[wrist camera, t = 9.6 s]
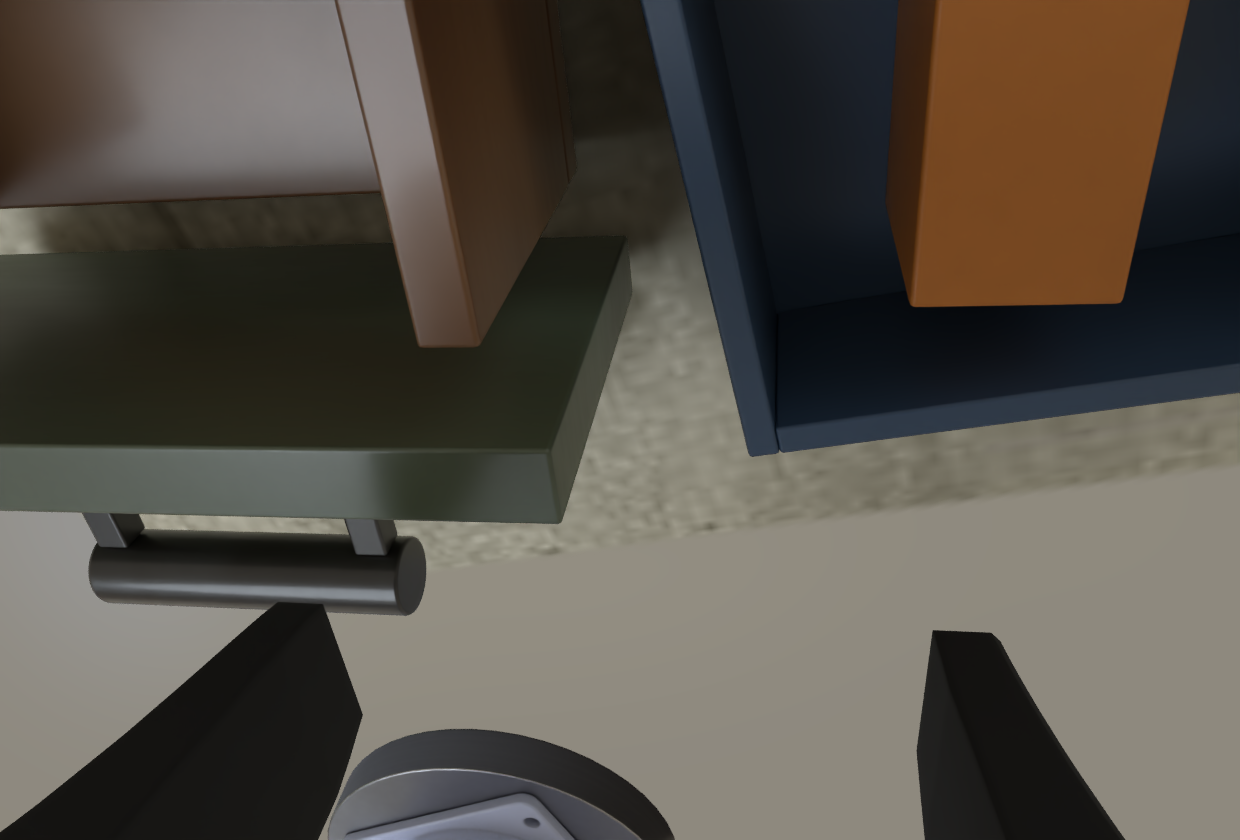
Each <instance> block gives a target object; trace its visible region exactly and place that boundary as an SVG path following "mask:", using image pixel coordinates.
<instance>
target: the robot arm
mask: <svg viewBox="0 0 1240 840" xmlns="http://www.w3.org/2000/svg"><path fill="white" fill-rule="evenodd" d="M362 715H363V714H362V711H361V708H360V706H359V703H358V700H357V697H356V694H355V692H354V689H353V686H352V684H351V681H350V678H349V675H348V672H347V670H346V667H345V664H344V661H343V658H342V656H341V653H340V650H339V647H338V644H337V642H336V639H335V636H334V633H333V631H332V628H331V625H330V622H329V619H328V617H327V614H326V611H325V608H324V605H323V604H314V603H291V602H277V603H276V604H274V605H273V606H272V607H271V608H270V609H268V610H267V611H266V612H265V613H264V614H262V615H261V616H260V617H259V618H258V619H256V621H254V622H253V623H252V624H251V625H250V626H248V627H247V628H246V629H245V630H244V631H243V632H241V633H240V634H239V635H238V636H237V637H236V638H235V639H233V640H232V641H231V642H230V643H229V644H228V645H227V646H225V647H224V648H223V649H222V650H221V651H220V652H219V653H218V654H216V655H215V656H214V657H213V658H212V659H211V660H210V661H208V662H207V663H206V664H205V665H204V666H203V667H202V668H201V669H199V670H198V671H197V672H196V673H195V674H194V675H193V676H192V677H190V678H189V679H188V680H187V681H186V682H185V683H184V684H182V685H181V686H180V687H179V688H178V689H177V690H175V691H174V692H173V693H172V694H171V695H170V696H168V697H167V698H166V699H165V700H164V701H163V702H161V703H160V704H159V705H158V706H157V707H156V708H155V709H153V710H152V711H151V712H150V713H149V714H148V715H146V716H145V717H144V718H143V719H142V720H141V721H139V722H138V723H137V724H136V725H135V726H134V727H132V728H131V729H130V730H129V731H128V732H127V733H125V734H124V735H123V736H122V737H121V738H119V739H118V740H117V741H116V742H114V743H113V744H112V745H111V746H110V747H108V748H107V749H106V750H105V751H103V752H102V753H101V754H100V755H98V756H97V757H96V758H95V759H93V760H92V761H91V762H90V763H88V764H87V765H86V766H85V767H83V768H82V769H81V770H80V771H78V772H77V773H76V774H75V775H74V776H72V777H71V778H70V779H68V780H67V781H66V782H65V783H63V785H61V786H60V787H59V788H57V789H56V790H55V791H54V792H52V793H51V794H50V795H49V796H47V797H46V798H45V799H44V800H42V801H41V802H40V803H39V804H37V805H36V806H35V807H34V808H32V809H31V810H30V811H28V812H27V813H25V814H24V815H23V816H22V817H20V818H19V819H18V820H16V821H15V822H14V823H12V824H11V825H10V826H8V827H7V828H5V829H4V830H3V831H1V832H0V840H318V838H319V836H320V834H321V832H322V829H323V827H324V825H325V823H326V820H327V818H328V816H329V814H330V812H331V809H332V807H333V805H334V802H335V800H336V797H337V795H338V793H339V790H340V787H341V783H342V780H343V777H344V774H345V771H346V768H347V765H348V762H349V759H350V756H351V753H352V749H353V746H354V743H355V739H356V736H357V732H358V729H359V725H360V722H361V719H362ZM917 760H918V771H919V782H920V793H921V803H922V804H921V805H922V815H923V825H924V835H925V840H1125V839H1124V837H1123V836H1122V834H1121V833H1120V832H1119V831H1118V829H1117V827H1116V826H1115V825H1114V823H1113V822H1112V820H1111V819H1110V817H1109V816H1108V814H1107V813H1106V811H1105V810H1104V809H1103V807H1102V806H1101V804H1100V803H1099V801H1098V800H1097V798H1096V797H1095V796H1094V794H1093V792H1092V791H1091V790H1090V788H1089V787H1088V785H1087V784H1086V782H1085V781H1084V779H1083V778H1082V777H1081V775H1080V774H1079V772H1078V771H1077V769H1076V768H1075V766H1074V765H1073V763H1072V762H1071V760H1070V758H1069V757H1068V755H1067V754H1066V752H1065V751H1064V749H1063V748H1062V746H1061V744H1060V743H1059V741H1058V740H1057V738H1056V736H1055V735H1054V733H1053V732H1052V730H1051V728H1050V727H1049V725H1048V724H1047V722H1046V720H1045V719H1044V717H1043V716H1042V714H1041V712H1040V711H1039V709H1038V708H1037V706H1036V704H1035V702H1034V701H1033V699H1032V697H1031V696H1030V694H1029V692H1028V691H1027V689H1026V687H1025V685H1024V684H1023V682H1022V680H1021V678H1020V677H1019V675H1018V673H1017V671H1016V669H1015V668H1014V666H1013V664H1012V662H1011V660H1010V659H1009V657H1008V655H1007V653H1006V651H1005V649H1004V647H1003V645H1002V644H1001V642H1000V641H999V640H998V639H997V638H996V637H995V636H994V635H993V634H992V633H983V632H961V631H960V632H959V631H938V630H937V631H936V630H933V632H932V640H931V647H930V655H929V662H928V669H927V677H926V685H925V692H924V700H923V707H922V714H921V722H920V730H919V737H918V744H917ZM343 840H575V839H574V838H573V837H572V836H571V835H570V834H569V833H568V832H567V830H566V829H565V828H564V827H563V826H562V825H561V824H560V823H559V822H558V821H557V820H556V818H555V817H554V816H553V815H552V814H551V813H550V812H549V811H548V810H547V809H546V808H545V807H544V805H543V804H542V803H541V802H540V801H539V800H538V799H537V798H536V797H534V796H532V795H530V794H526V793H518V794H514V795H510V796H505V797H501V798H497V799H493V800H489V801H484V802H480V803H476V804H472V805H468V806H463V807H459V808H455V809H451V810H446V811H442V812H438V813H434V814H430V815H425V816H421V817H417V818H413V819H409V820H404V821H400V822H396V823H392V824H387V825H383V826H379V827H375V828H371V829H366V830H362V831H358V832H354V833H350V834H348V835H346V836H345V837H344V839H343Z"/></svg>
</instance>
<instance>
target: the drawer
mask: <svg viewBox="0 0 1240 840" xmlns="http://www.w3.org/2000/svg"><path fill="white" fill-rule="evenodd" d="M576 170H577V163H576V154H575V146H574V138H573V130H572V121H571V113H570V105H569V96H568V88H567V80H566V72H565V63H564V55H563V47H562V38H561V30H560V22H559V13H558V5H557V0H0V209H9V208H34V207H58V206H82V205H106V204H131V203H155V202H179V201H204V200H228V199H252V198H276V197H301V196H325V195H349V194H374V193H381V195H382V199H383V204H384V208H385V212H386V216H387V220H388V224H389V228H390V232H391V237H392V241H393V243H367V244H335V245H303V246H271V247H239V248H207V249H175V250H143V251H111V252H79V253H47V254H15V255H0V511H39V512H80V513H82V514H83V516H84V518H85V520H86V522H87V524H88V525H89V527H90V529H91V531H92V533H93V535H94V537H95V539H96V541H97V544H96V545H95V547H94V549H93V551H92V554H91V557H90V561H89V581H90V584H91V587H92V590H93V591H94V593H95V594H96V595H97V597H99V598H100V599H101V600H103V601H105V602H108V603H122V604H123V603H124V604H145V605H169V606H193V607H216V608H239V609H264V610H268V609H270V608H271V607H272V606H273V605H274V604H276V603H277V602H291V603H314V604H323V605H324V608H325V611H326V612H334V613H357V614H380V615H404V616H407V615H410V614H412V613H413V612H414V611H415V610H416V609H417V607H418V606H419V604H420V601H421V599H422V595H423V592H424V587H425V581H426V559H425V553H424V549H423V546H422V544H421V542H420V541H419V540H418V539H417V538H415V537H413V536H397V530H396V527H395V523H394V520H416V521H458V522H500V523H542V524H559V523H561V522H562V519H563V516H564V513H565V510H566V506H567V503H568V500H569V497H570V493H571V490H572V487H573V484H574V480H575V477H576V474H577V471H578V467H579V464H580V461H581V458H582V454H583V451H584V448H585V445H586V441H587V438H588V435H589V432H590V428H591V425H592V422H593V419H594V415H595V412H596V409H597V406H598V402H599V399H600V396H601V393H602V389H603V386H604V383H605V380H606V376H607V373H608V370H609V367H610V363H611V360H612V357H613V354H614V350H615V347H616V344H617V341H618V337H619V334H620V331H621V328H622V324H623V321H624V318H625V315H626V311H627V308H628V305H629V302H630V298H631V295H632V282H631V271H630V261H629V250H628V239H627V237H626V236H624V235H623V236H591V237H559V238H540V236H541V235H542V233H543V231H544V229H545V227H546V226H547V224H548V222H549V220H550V218H551V217H552V215H553V213H554V211H555V209H556V207H557V206H558V204H559V202H560V200H561V198H562V197H563V195H564V193H565V191H566V189H567V188H568V184H569V183H570V181H571V180H572V178H573V176H574V174H575V172H576ZM139 514H164V515H206V516H248V517H290V518H332V519H344V520H345V523H346V526H347V529H348V532H349V535H345V534H308V533H271V532H234V531H196V530H159V529H144V528H145V526H144V524H143V522H142V520H141V518H140V516H139Z"/></svg>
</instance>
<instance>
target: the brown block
mask: <svg viewBox="0 0 1240 840" xmlns="http://www.w3.org/2000/svg"><path fill="white" fill-rule="evenodd" d="M1189 2H1190V0H898V15H897V30H896V46H895V61H894V76H893V92H892V107H891V122H890V138H889V153H888V168H887V184H886V199H885V204H886V208H887V212H888V217H889V221H890V225H891V229H892V233H893V237H894V241H895V245H896V250H897V254H898V258H899V262H900V266H901V270H902V274H903V278H904V283H905V287H906V291H907V295H908V299H909V302H910V305H911V306H913V307H949V306H1008V305H1066V304H1117V303H1121V301H1122V300H1123V297H1124V292H1125V288H1126V283H1127V279H1128V275H1129V270H1130V266H1131V261H1132V257H1133V252H1134V248H1135V243H1136V239H1137V234H1138V230H1139V225H1140V221H1141V217H1142V212H1143V208H1144V203H1145V199H1146V194H1147V190H1148V185H1149V181H1150V176H1151V172H1152V167H1153V163H1154V158H1155V154H1156V150H1157V145H1158V141H1159V136H1160V132H1161V127H1162V123H1163V118H1164V114H1165V109H1166V105H1167V100H1168V96H1169V92H1170V87H1171V83H1172V78H1173V74H1174V69H1175V65H1176V60H1177V56H1178V51H1179V47H1180V42H1181V38H1182V34H1183V29H1184V25H1185V20H1186V16H1187V11H1188V7H1189Z"/></svg>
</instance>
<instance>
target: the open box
mask: <svg viewBox="0 0 1240 840" xmlns="http://www.w3.org/2000/svg"><path fill="white" fill-rule="evenodd" d="M640 3H641V7H642V11H643V15H644V20H645V24H646V28H647V32H648V36H649V41H650V45H651V49H652V53H653V57H654V61H655V66H656V70H657V74H658V78H659V82H660V86H661V91H662V95H663V99H664V103H665V107H666V111H667V116H668V120H669V124H670V128H671V132H672V136H673V141H674V145H675V149H676V153H677V157H678V161H679V166H680V170H681V174H682V178H683V182H684V187H685V191H686V195H687V199H688V203H689V207H690V212H691V216H692V220H693V224H694V228H695V232H696V237H697V241H698V245H699V249H700V253H701V257H702V262H703V266H704V270H705V274H706V278H707V282H708V287H709V291H710V295H711V299H712V303H713V308H714V312H715V316H716V320H717V324H718V328H719V333H720V337H721V341H722V345H723V349H724V353H725V358H726V362H727V366H728V370H729V374H730V378H731V383H732V387H733V391H734V395H735V399H736V403H737V408H738V412H739V416H740V420H741V424H742V428H743V433H744V437H745V441H746V445H747V449H748V453H749V455H750V456H752V457H754V456H762V455H769V454H776V453H778V452H779V449H780V451H781V452H783V453H785V452H792V451H800V450H807V449H815V448H823V447H830V446H838V445H845V444H853V443H861V442H868V441H876V440H883V439H891V438H899V437H906V436H914V435H921V434H929V433H937V432H944V431H952V430H959V429H967V428H975V427H982V426H990V425H997V424H1005V423H1013V422H1020V421H1028V420H1036V419H1043V418H1051V417H1058V416H1066V415H1074V414H1081V413H1089V412H1096V411H1104V410H1112V409H1119V408H1127V407H1134V406H1142V405H1150V404H1157V403H1165V402H1172V401H1180V400H1188V399H1195V398H1203V397H1210V396H1218V395H1226V394H1233V393H1240V0H1190V2H1189V7H1188V11H1187V16H1186V20H1185V25H1184V29H1183V34H1182V38H1181V42H1180V47H1179V51H1178V56H1177V60H1176V65H1175V69H1174V74H1173V78H1172V83H1171V87H1170V92H1169V96H1168V100H1167V105H1166V109H1165V114H1164V118H1163V123H1162V127H1161V132H1160V136H1159V141H1158V145H1157V150H1156V154H1155V158H1154V163H1153V167H1152V172H1151V176H1150V181H1149V185H1148V190H1147V194H1146V199H1145V203H1144V208H1143V212H1142V217H1141V221H1140V225H1139V230H1138V234H1137V239H1136V243H1135V248H1134V252H1133V257H1132V261H1131V266H1130V270H1129V275H1128V279H1127V283H1126V288H1125V292H1124V297H1123V300H1122V301H1121V303H1117V304H1066V305H1008V306H949V307H913V306H911V305H910V302H909V299H908V295H907V291H906V287H905V283H904V278H903V274H902V270H901V266H900V262H899V258H898V254H897V250H896V245H895V241H894V237H893V233H892V229H891V225H890V221H889V217H888V212H887V208H886V204H885V199H886V184H887V168H888V153H889V138H890V122H891V107H892V92H893V76H894V61H895V46H896V30H897V15H898V0H640Z"/></svg>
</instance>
